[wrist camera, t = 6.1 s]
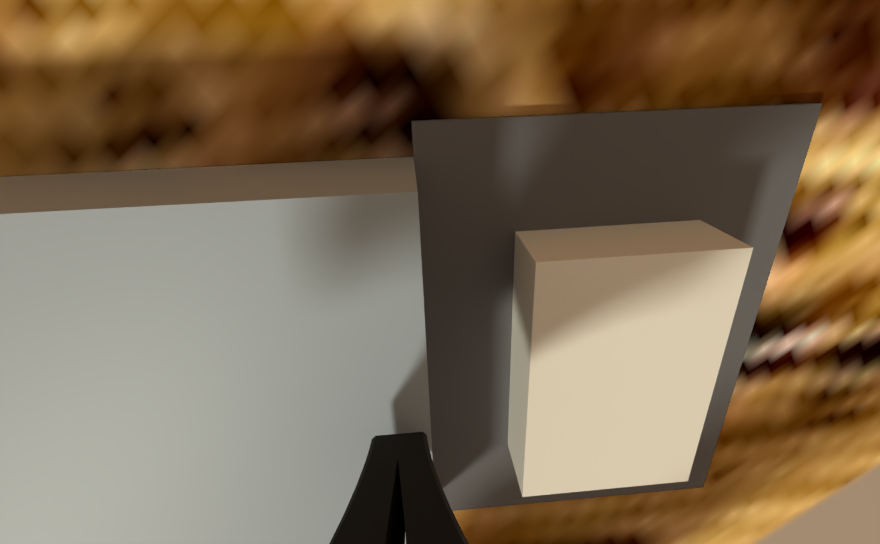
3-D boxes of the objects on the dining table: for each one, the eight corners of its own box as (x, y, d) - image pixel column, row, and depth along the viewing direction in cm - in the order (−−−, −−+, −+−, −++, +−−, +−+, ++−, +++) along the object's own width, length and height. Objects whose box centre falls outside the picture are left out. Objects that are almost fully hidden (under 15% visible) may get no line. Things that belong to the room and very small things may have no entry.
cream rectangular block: (522, 497, 16) (507, 444, 18) (687, 481, 16) (653, 431, 18) (536, 262, 12) (515, 231, 14) (753, 247, 12) (699, 219, 14)
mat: (699, 481, 20) (703, 487, 20) (433, 506, 19) (434, 512, 19) (813, 102, 13) (822, 103, 13) (411, 120, 13) (411, 122, 12)
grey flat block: (432, 490, 19) (440, 590, 15) (39, 525, 18) (-51, 641, 14) (413, 156, 13) (417, 191, 9) (-174, 185, 12) (-419, 235, 8)
